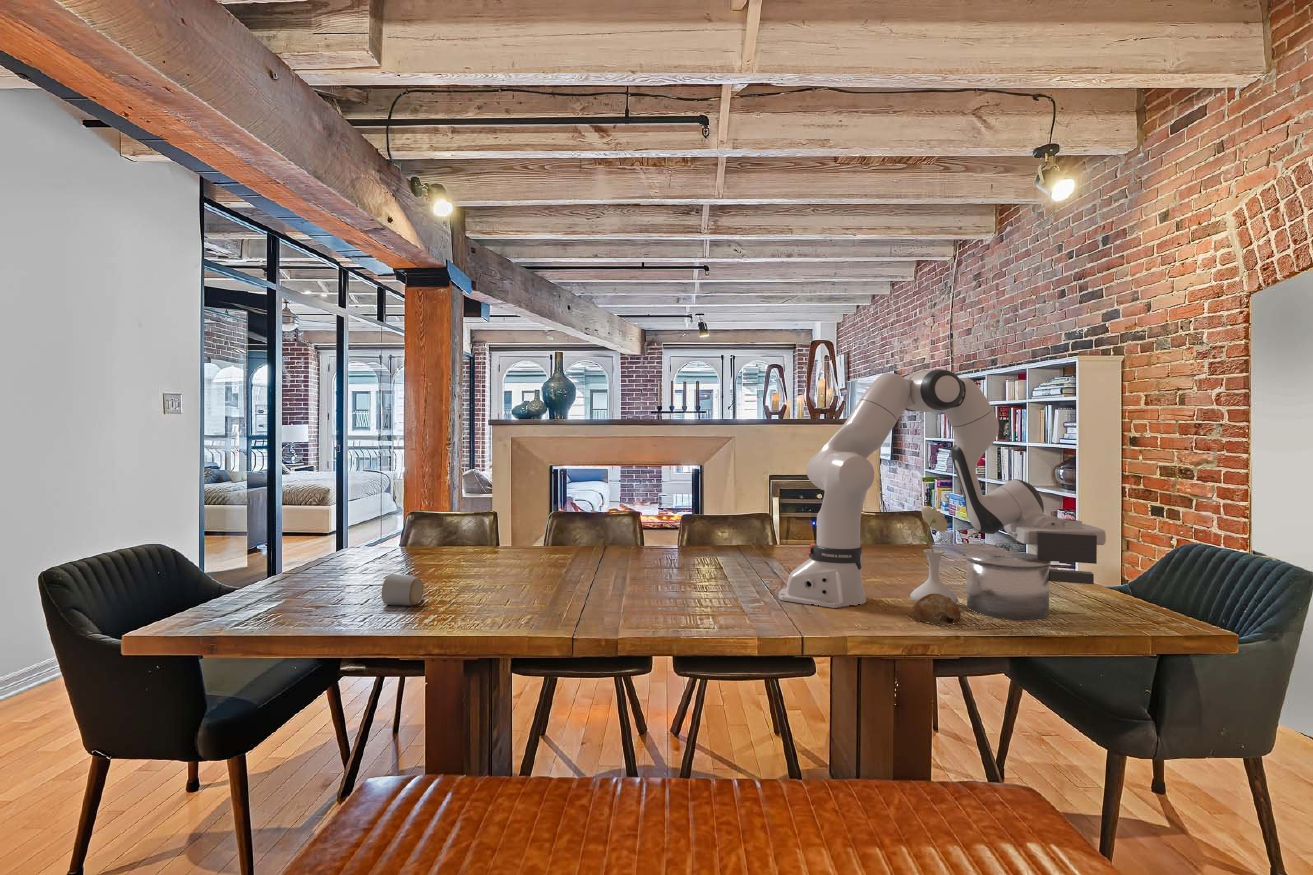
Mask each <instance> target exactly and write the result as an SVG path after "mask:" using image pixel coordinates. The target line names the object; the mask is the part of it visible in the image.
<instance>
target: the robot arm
mask: <svg viewBox="0 0 1313 875" xmlns="http://www.w3.org/2000/svg"><path fill="white" fill-rule="evenodd" d="M904 411H907V412H922V413H923V412H924V413H928V412H929V413H931V412H935V411H942V412H943V414H944V415H945V416H946V417H947V420H948V423H949V424H950V425H951V428H952V430H953V435H954V436H953V438H954V441H953V442H954V444H953V446H952V448H951V450H950V455H951V460H952V464H953V467H954V471H955V474H956V477H957V482H958V484H959V488H960V490H961V493H962V494H961V495H962V496H963V500H964V501H963V502H964V505H965V511H966V516H967V519H968V520H969V523H970V524H971V526H972V527H973V529H974V530H976V531H977V532H979V533H983V534H987V535H994V534H996V533H999V531H1000V530H1002V529H1003V530H1004V531H1005V532H1006V533H1007V534H1008V535H1009V536H1010V537H1011V538H1013V539H1014V540H1015V541H1017V542H1019V543H1021V544H1023V545H1029V546H1030V545H1031V546H1032V547H1036V548H1037V531H1049V532H1068V533H1087V534H1095V535H1097V546H1105V544H1106V541H1107V533H1106V530H1104V529H1103V528H1100V527H1096V526H1093V525H1091V524H1086V523H1083V521H1082V520H1077V519H1069V518H1060V517H1058V516H1051V515H1049V514H1048V515H1047V514H1044V512H1045V505H1044V502H1043V501H1044V500H1043V499H1042V496H1041V495H1040V493H1039V492H1038V490H1037V489H1036V487H1035V486H1033V485H1032V484H1031V483H1028V482H1027V481H1025V480H1022V479H1019V478H1018V479H1017V478H1014V479H1011V480H1009V481H1007V482H1006V483H1003V484H1002V485H1000V486H998V487H997V488H995V489H993V490H991V491H989V492H988V493H986V494H984V495H983V490H982V489H981V485H980V482H979V479H978V476H977V465H978V463H979V461H980V459H981V458H982V457H983V455H984V454H985V453H986V451H987V450H988V449H989V448H990V447H991V446H992V444H993V443H994V442H995V441H996V439H997V437H998V435H999V431H1000V430H999V429H1000V424H999V421H998V418H997V416H996V413H995V411H994V410H993V408H992V406H991V404H990V402H989V400H988V399H987V397H986V395H985V394H984V393H983V391H982V390H981V388H980V387H979V386H978V385H977V384H976V382H975V380H973V379H971V378H968V377H959V376H958V375H957V374H955V373H954V372H952V371H950V370H947V369H940V368H939V369H932V370H931V369H930V370H929V369H927V370H926V369H925V370H924V369H923V370H920V371H915V372H912V373H907V374H904V375H900V374H897V373H894V372H885V373H882V374H881V375H879V376H878V377H877V378H876V379H875V380H874V381H873V382H872V383H871V385H869V387H868V388H867V389H866V390H865V392H864V393H863V395H862V396H861V397H860V399H859V401H858V402H857V404H856V405H855V406H854V408H853V410H852V411H851V413H850V414H849V416H848V417H847V419H846V420H845V422H844V423H843V424H842V425H841V427H840V428H839V429H838V430H837V431H836V432H835V434H834V435H832V436H831V438H830V439H828V441H827V442H826V443H825V445H824V446H822V448H821V449H820V450H819V451H818V452H817V453H816V454H815V455H813V456H812V457H811V458H810V459H809V460H808V462H807V464H806V476H807V478H808V480H809V481H810V482H811V483H812V484H813V486H815V487H816V488H818V489H820V490H822V491H824V495H823V498H822V504H821V507H820V509H819V511H818V513H817V515H816V543H811V544H810V545H809V547H808V557H809V558H808V559H807V560H805V561H804V562H802V563H801V564H800V565H798V566H797V567H795V568H794V569H793V570H791V572H790V574H789V576H788V578H787V583H786V587H783V588H782V589H780V590H779V591H778V597H777V598H778V599H779V600H781V601H786V602H792V603H799V604H806V605H811V604H814V605H813V606H818V605H819V606H818V607H826V608H831V609H832V608H833V609H835V608H836V609H837V608H838V607H839V608H842V606H843V607H850V606H849V605H854V606H859V605H858V604H860V605H863V604H865V603H867V598H866V594H865V589H864V585H863V577H862V568H863V547H862V546H861V519H862V511H863V507H864V503H865V500H866V495H867V492H868V490H869V489H870V488H871V487H872V486H873V485H872V484H873V483H874V479H875V468H874V467H873V464H872V463H871V462H870V461H869V459H867V458H868V457H870V456H871V455H872V454H873V453H874V452H875V451H877V450H878V449H880V448H881V447H882V445H883V444H884V442H886V439H887V437H888V436H889V435H890V433H891V432H892V430H893V429H894V427H895V425H896V423H897V422H898V420H899V418H900V417H901V416H902V414H903V413H904ZM839 608H838V609H839Z"/></svg>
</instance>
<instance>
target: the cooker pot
mask: <svg viewBox="0 0 1313 875" xmlns="http://www.w3.org/2000/svg"><path fill="white" fill-rule="evenodd" d="M1094 576H1095V574H1094V573H1093V572H1092V571H1084V570H1083V571H1082V570H1070V569H1069V570H1068V569H1058V568H1057V569H1055V568H1054V569H1052V568H1050V566H1048V567H1043V568H1009V567H998V566H991V565H985V564H979V563H975V562H972V561H969V560H967V559H966V608H967V607H968V608H969V609H971V610H973V611H975V612H977V613H976V614H978V613H981V614H984V615H983V616H985V615H986V616H985V617H989V616H990V617H991V618H995V619H1001V618H1004V619H1003V620H1009V619H1010V621H1029V622H1030V621H1041V620H1046V619H1048V618H1049V616H1050V582H1055V583H1056V582H1057V583H1068V584H1069V583H1070V584H1071V583H1072V584H1083V585H1085V584H1086V585H1095V584H1094V583H1095V582H1094V580H1095V577H1094ZM968 608H967V609H968ZM969 609H968V610H969ZM971 610H970V611H971ZM973 611H972V612H973ZM975 612H974V613H975ZM981 614H980V615H981Z"/></svg>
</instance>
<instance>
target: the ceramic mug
mask: <svg viewBox="0 0 1313 875" xmlns="http://www.w3.org/2000/svg"><path fill="white" fill-rule="evenodd" d="M424 589H425V588H424V582H423V580H422V579H421V578H419V577H417V576H415V575H414V576H413V575H403V574H395V573H390V574H388V575H387V576H386V577H385V578H384V580H383V583H382V588H381V600H382V602H383V603H384V605H386V606H407V607H411V606H417V605H418V604H419V603H420V602H421V600H422V599H423V597H424Z"/></svg>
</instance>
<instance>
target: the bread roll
mask: <svg viewBox="0 0 1313 875" xmlns="http://www.w3.org/2000/svg"><path fill="white" fill-rule="evenodd" d="M912 609H913V616H914V619H916V618H917V619H916V620H917V621H918V620H920V621H919V622H921V621H923V622H922V623H925V622H929V623H933V624H940V625H939V626H941V625H946V626H949V625H948V624H953V623H957V624H959V623H960V620H961V617H962V616H961V610H960V609H959V606H958V605H957V603H956V604H955V603H954V602H953V601H952V600H951V598H949V597H945V596H944V595H940V594H935V593H934V594H928V595H926V596H924V597H922V598H921V599H920V600H918V601H917V602H915V604H914V605H913V606H912ZM958 622H959V623H958ZM933 624H932V625H933ZM953 625H954V624H953Z"/></svg>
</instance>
